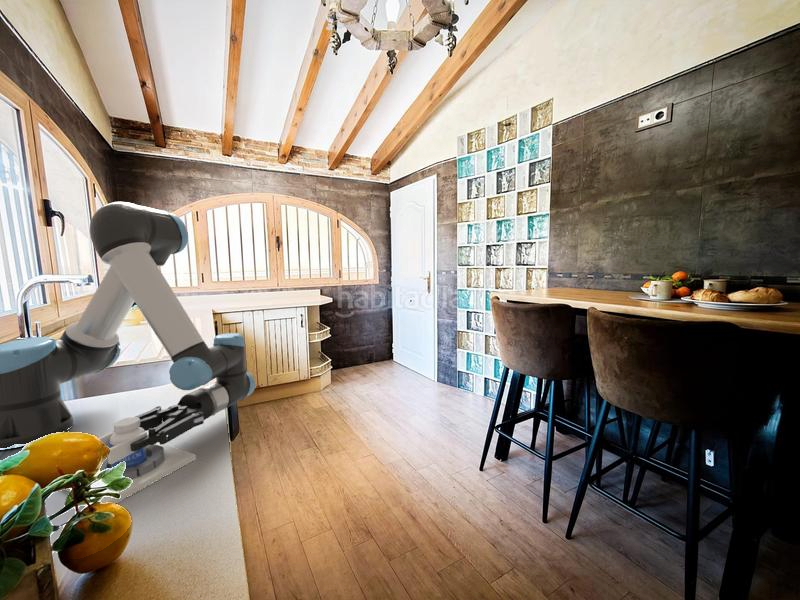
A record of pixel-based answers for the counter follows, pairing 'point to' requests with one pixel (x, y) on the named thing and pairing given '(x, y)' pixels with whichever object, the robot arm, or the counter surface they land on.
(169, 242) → the robot arm
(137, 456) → the pill bottle
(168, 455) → the collar plate
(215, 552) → the counter surface
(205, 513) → the counter surface
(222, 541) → the counter surface
